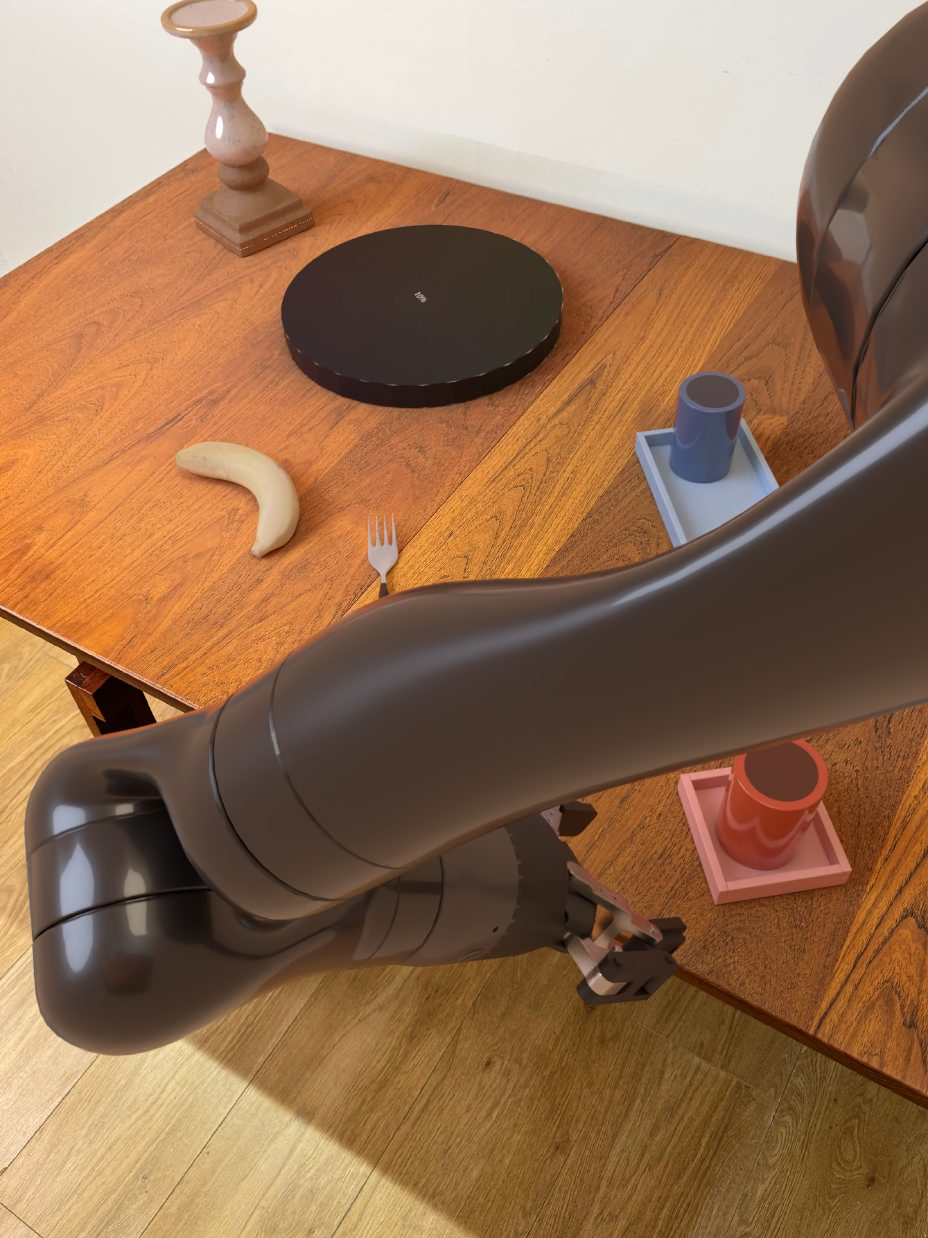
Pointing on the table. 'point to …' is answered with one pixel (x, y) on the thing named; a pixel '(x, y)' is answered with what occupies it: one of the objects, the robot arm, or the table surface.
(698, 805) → the pink tray
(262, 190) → the candle holder
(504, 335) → the disc
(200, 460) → the fruit
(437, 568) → the table surface
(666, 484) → the blue tray
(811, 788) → the red spoon pot
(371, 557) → the fork
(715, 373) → the blue pot
